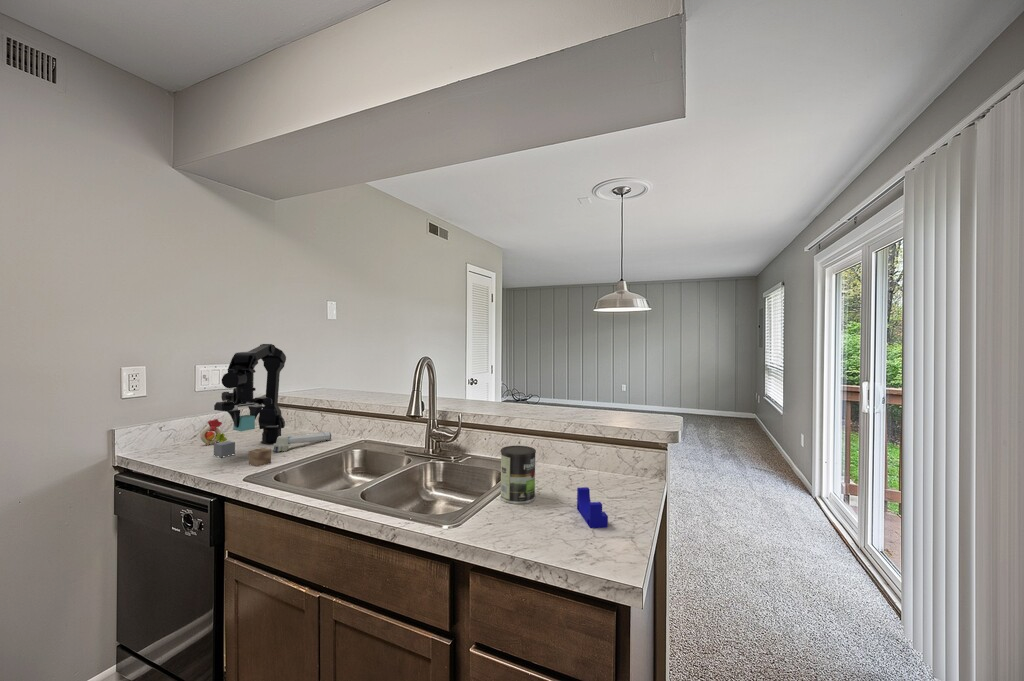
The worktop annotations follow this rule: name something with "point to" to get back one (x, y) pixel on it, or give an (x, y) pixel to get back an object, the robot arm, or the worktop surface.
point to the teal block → (245, 423)
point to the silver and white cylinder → (299, 440)
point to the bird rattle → (208, 436)
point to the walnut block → (260, 456)
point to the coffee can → (518, 474)
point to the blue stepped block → (591, 509)
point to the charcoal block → (224, 448)
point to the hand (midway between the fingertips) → (244, 426)
